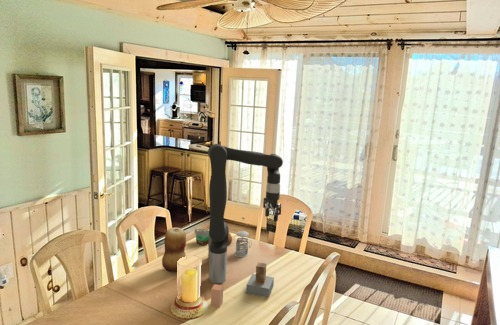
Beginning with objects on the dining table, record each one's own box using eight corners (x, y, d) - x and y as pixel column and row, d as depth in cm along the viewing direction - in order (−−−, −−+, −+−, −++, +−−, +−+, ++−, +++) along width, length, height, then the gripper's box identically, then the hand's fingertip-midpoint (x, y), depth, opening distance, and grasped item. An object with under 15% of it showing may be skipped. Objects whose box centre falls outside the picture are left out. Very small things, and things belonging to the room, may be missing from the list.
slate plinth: (246, 293, 184) (246, 284, 183) (252, 282, 195) (252, 273, 194) (268, 297, 181) (269, 288, 180) (273, 286, 192) (273, 277, 191)
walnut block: (255, 282, 186) (256, 266, 184) (257, 277, 190) (258, 262, 188) (263, 283, 185) (264, 267, 183) (265, 279, 189) (266, 263, 187)
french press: (240, 249, 236) (241, 213, 231) (254, 254, 229) (256, 217, 225) (231, 254, 228) (232, 217, 223) (245, 259, 222) (247, 221, 217)
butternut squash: (178, 278, 196) (178, 235, 191) (157, 273, 200) (157, 231, 195) (190, 267, 208) (191, 227, 204) (171, 262, 213) (171, 223, 208)
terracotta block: (210, 305, 172) (211, 288, 170) (214, 300, 176) (214, 284, 174) (219, 307, 171) (220, 290, 169) (222, 302, 175) (223, 285, 173)
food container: (191, 245, 239) (191, 231, 237) (194, 241, 245) (194, 227, 243) (209, 247, 237) (209, 232, 235) (211, 243, 243) (212, 229, 241)
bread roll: (223, 247, 238) (223, 236, 237) (212, 239, 250) (212, 228, 249) (235, 244, 244) (235, 233, 242) (224, 236, 256) (224, 226, 254)
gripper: (260, 188, 198) (258, 215, 201) (274, 194, 186) (272, 224, 189) (271, 186, 202) (269, 214, 205) (286, 193, 190) (284, 222, 193)
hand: (271, 218), depth 197 cm, fingers open, 8 cm apart
